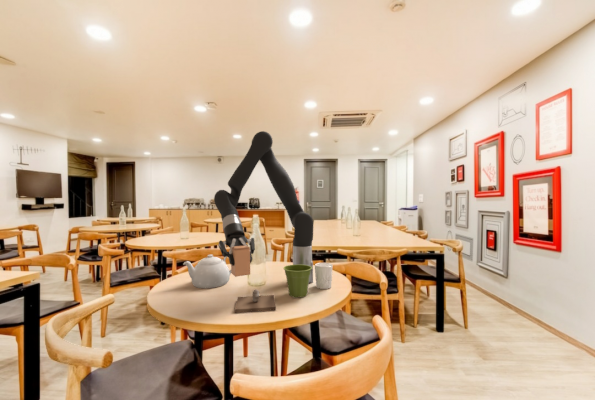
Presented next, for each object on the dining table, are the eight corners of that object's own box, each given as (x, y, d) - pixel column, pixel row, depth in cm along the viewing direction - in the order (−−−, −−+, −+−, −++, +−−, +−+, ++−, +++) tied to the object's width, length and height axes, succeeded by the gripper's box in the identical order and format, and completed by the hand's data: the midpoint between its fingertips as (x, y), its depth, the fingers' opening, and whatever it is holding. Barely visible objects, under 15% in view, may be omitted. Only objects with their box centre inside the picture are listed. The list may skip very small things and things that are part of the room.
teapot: (221, 290, 112) (221, 259, 112) (182, 288, 115) (182, 258, 115) (237, 278, 130) (237, 251, 130) (203, 276, 133) (203, 250, 133)
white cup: (321, 291, 111) (320, 267, 111) (311, 285, 118) (311, 263, 118) (336, 288, 115) (335, 265, 115) (326, 283, 122) (326, 261, 122)
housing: (245, 270, 100) (245, 245, 100) (250, 274, 95) (249, 247, 95) (231, 273, 97) (230, 246, 97) (235, 276, 92) (234, 248, 93)
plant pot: (314, 291, 111) (314, 264, 111) (309, 301, 99) (308, 272, 99) (288, 289, 114) (287, 263, 114) (279, 298, 102) (279, 270, 102)
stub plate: (273, 297, 103) (273, 283, 103) (275, 310, 91) (275, 294, 91) (237, 300, 101) (237, 285, 101) (235, 312, 89) (235, 296, 89)
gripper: (216, 223, 100) (223, 260, 89) (252, 221, 106) (263, 255, 96) (213, 235, 104) (220, 271, 94) (248, 232, 111) (258, 266, 100)
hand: (242, 263), depth 95 cm, fingers closed on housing, 5 cm apart
